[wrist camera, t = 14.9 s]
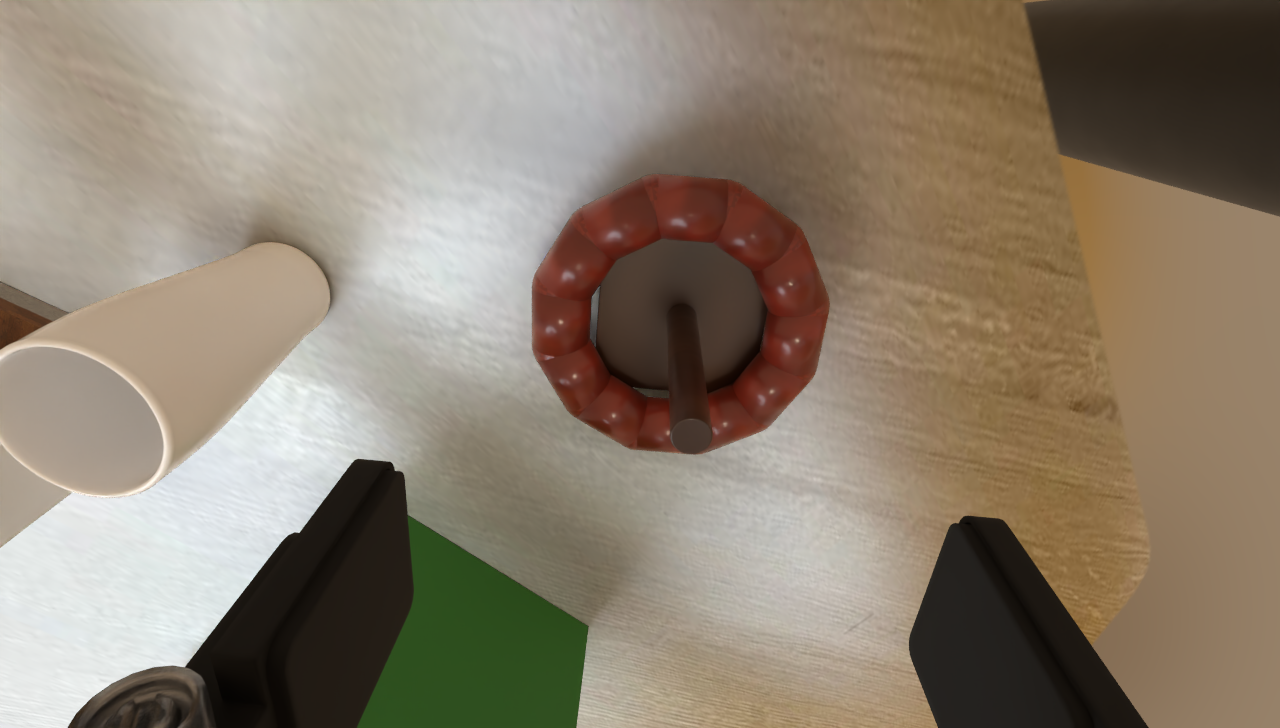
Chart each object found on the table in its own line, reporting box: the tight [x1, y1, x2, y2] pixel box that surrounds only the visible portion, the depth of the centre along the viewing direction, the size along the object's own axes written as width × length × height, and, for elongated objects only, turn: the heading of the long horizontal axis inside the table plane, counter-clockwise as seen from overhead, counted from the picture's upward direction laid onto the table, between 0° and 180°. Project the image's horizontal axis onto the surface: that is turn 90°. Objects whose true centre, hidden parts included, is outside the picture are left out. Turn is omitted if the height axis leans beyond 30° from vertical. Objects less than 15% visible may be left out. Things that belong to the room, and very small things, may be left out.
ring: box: [532, 174, 830, 455], centre depth 34 cm, size 15×15×3 cm
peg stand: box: [596, 239, 768, 454], centre depth 31 cm, size 9×9×14 cm
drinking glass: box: [0, 242, 330, 498], centre depth 31 cm, size 7×7×15 cm
